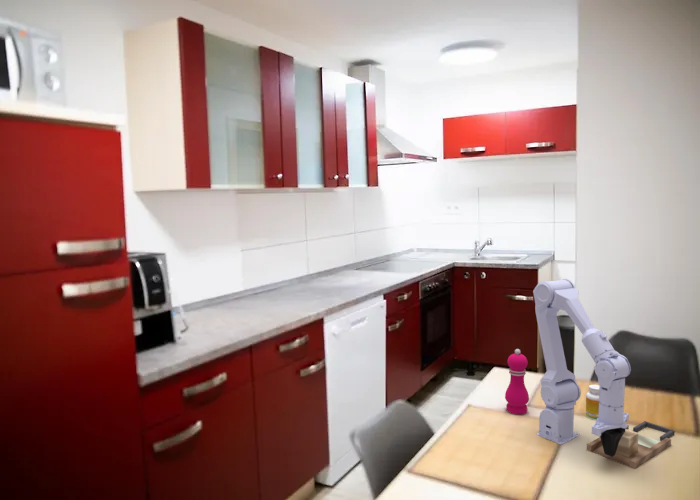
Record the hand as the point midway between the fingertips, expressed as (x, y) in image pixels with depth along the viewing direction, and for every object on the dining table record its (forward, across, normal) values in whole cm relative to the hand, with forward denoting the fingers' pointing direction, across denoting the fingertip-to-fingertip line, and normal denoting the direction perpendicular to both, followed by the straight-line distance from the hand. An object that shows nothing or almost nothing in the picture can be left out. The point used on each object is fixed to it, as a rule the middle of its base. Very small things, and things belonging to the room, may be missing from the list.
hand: (609, 454), depth 136 cm
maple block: (+1, +7, 0) cm, 7 cm away
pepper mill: (+2, +8, +34) cm, 35 cm away
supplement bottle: (+2, +22, +16) cm, 27 cm away
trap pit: (+2, +24, 0) cm, 24 cm away
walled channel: (+2, +10, 0) cm, 10 cm away
